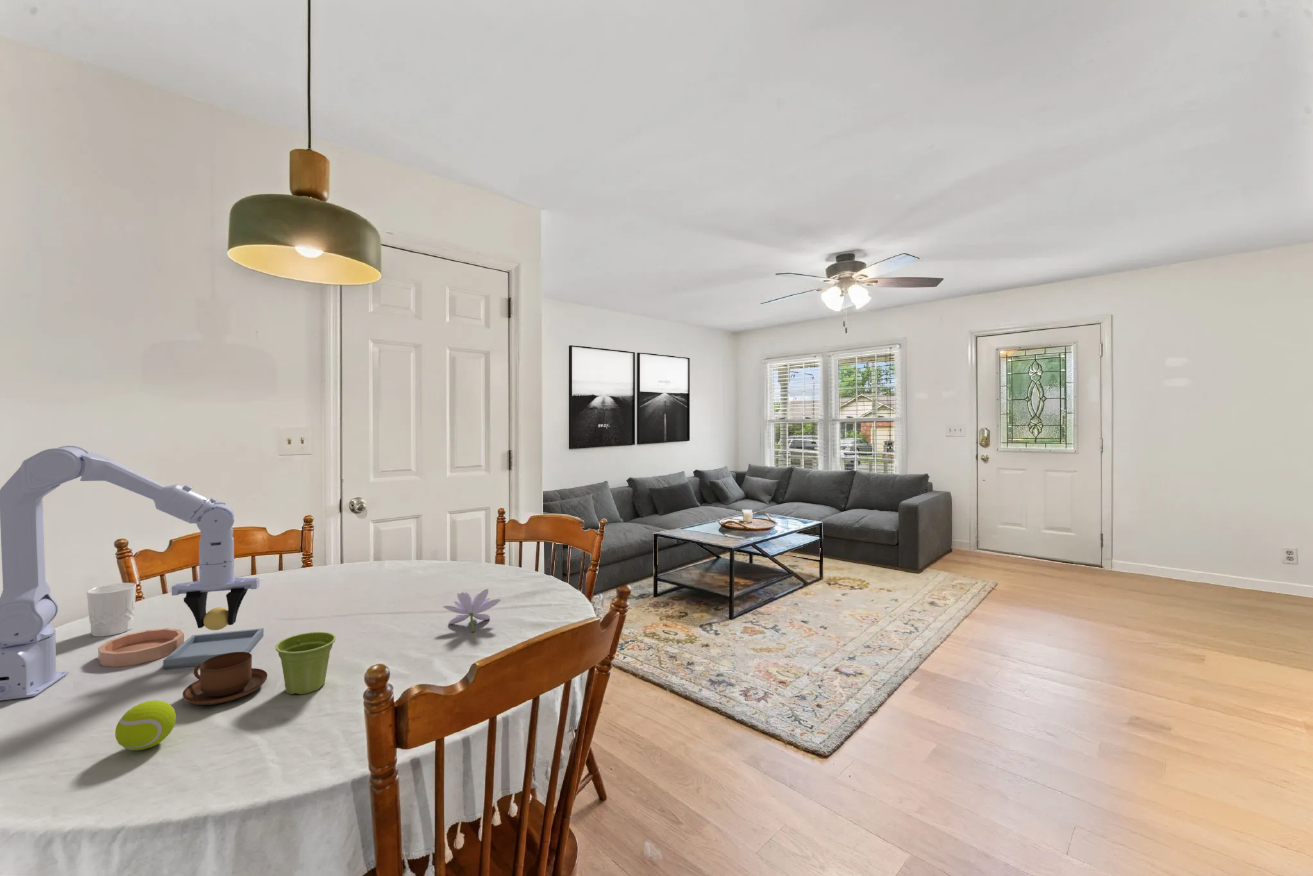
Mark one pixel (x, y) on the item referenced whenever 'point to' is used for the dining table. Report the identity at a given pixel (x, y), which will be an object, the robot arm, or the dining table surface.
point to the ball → (216, 619)
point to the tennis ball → (145, 725)
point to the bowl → (140, 647)
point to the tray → (212, 647)
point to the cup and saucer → (224, 679)
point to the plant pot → (305, 660)
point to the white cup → (111, 608)
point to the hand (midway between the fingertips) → (217, 624)
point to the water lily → (472, 607)
